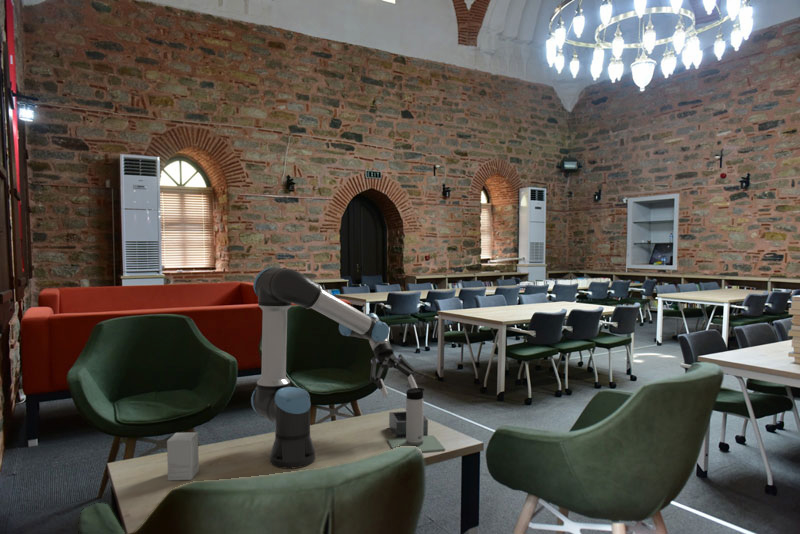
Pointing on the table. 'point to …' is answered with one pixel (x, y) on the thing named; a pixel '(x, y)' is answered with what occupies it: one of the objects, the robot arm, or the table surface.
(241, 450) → the table surface
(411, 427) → the travel mug
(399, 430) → the sleeve
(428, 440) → the mat
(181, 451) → the supplement box
